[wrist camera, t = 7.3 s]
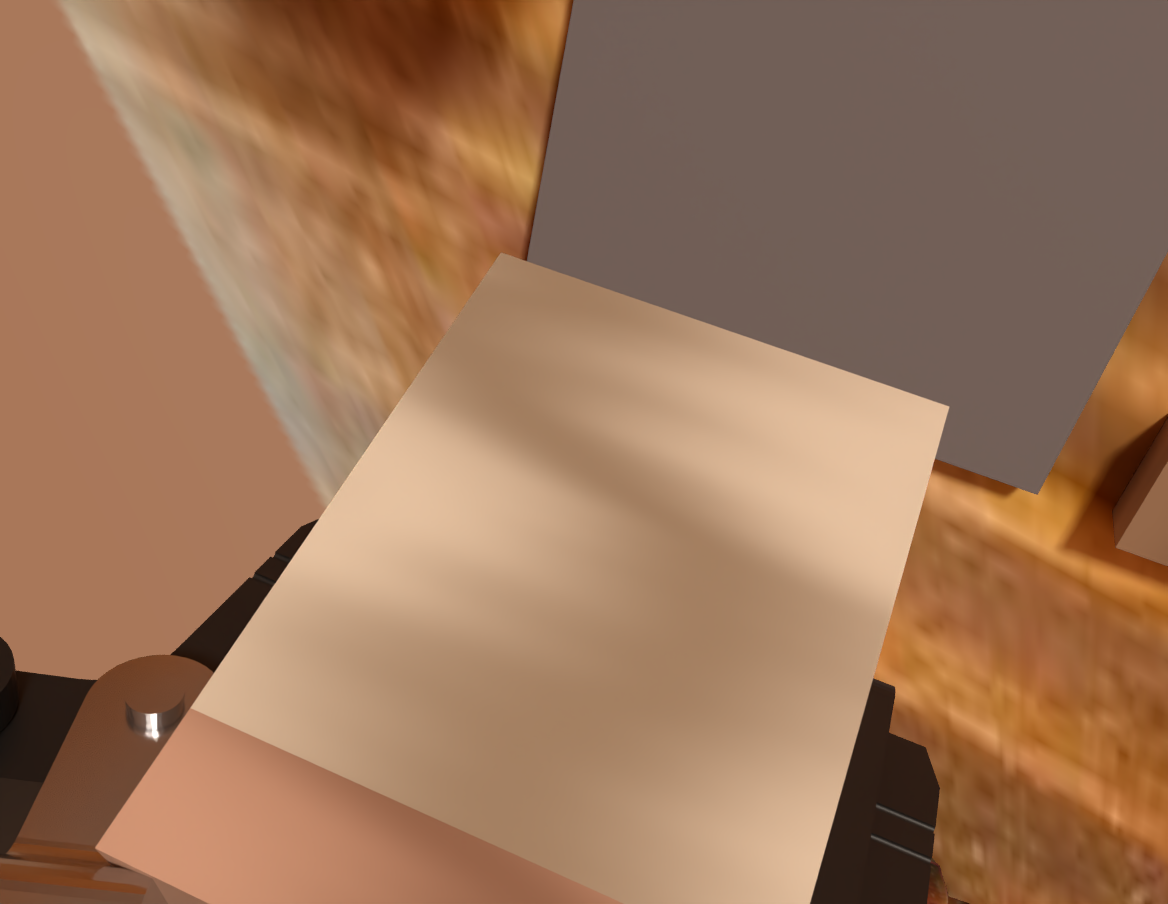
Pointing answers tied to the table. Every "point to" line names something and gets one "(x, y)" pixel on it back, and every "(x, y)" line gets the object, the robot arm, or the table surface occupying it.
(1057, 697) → the table surface
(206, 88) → the table surface
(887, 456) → the pinkish tan block
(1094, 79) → the charcoal mat
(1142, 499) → the block
